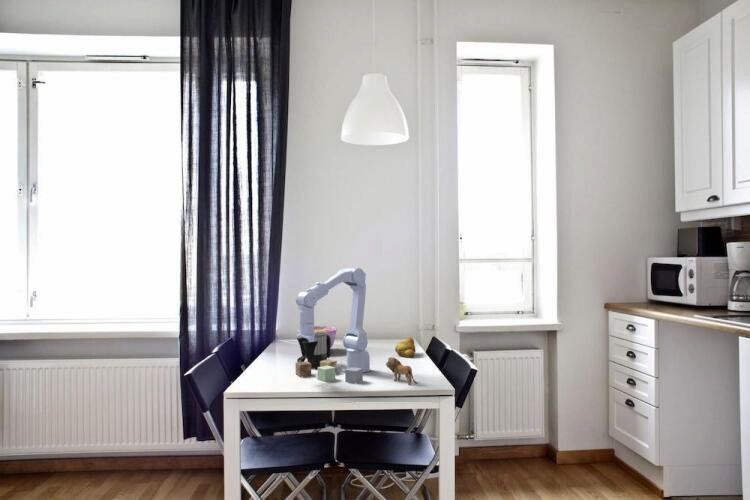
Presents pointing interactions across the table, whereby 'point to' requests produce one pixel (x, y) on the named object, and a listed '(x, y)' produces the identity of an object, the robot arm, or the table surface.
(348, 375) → the slate grey block
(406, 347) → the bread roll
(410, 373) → the lion figurine
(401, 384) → the table surface
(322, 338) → the milk frother
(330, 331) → the bowl of food
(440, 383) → the table surface
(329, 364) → the oak block
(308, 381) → the table surface
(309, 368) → the walnut block
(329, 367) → the sage painted block
